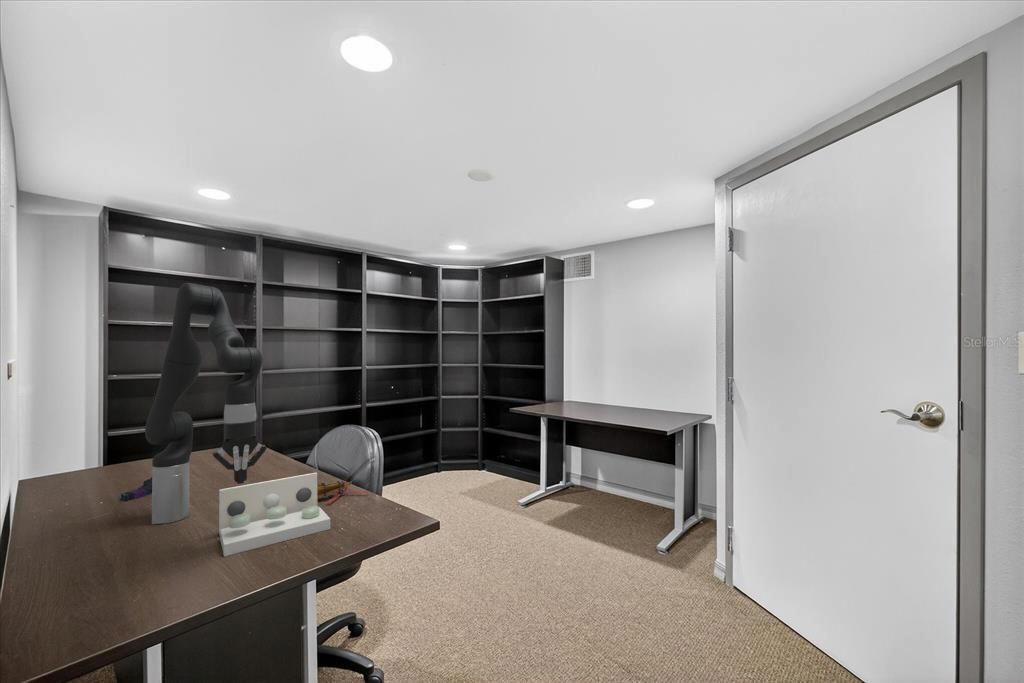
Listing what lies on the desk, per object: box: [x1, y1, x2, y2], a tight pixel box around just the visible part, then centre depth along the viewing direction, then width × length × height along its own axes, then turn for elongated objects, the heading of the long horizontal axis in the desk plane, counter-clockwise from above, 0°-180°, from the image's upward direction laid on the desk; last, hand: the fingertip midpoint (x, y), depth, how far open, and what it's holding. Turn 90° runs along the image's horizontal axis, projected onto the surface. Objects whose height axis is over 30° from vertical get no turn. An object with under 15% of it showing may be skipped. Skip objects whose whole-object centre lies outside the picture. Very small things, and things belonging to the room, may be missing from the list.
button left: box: [229, 514, 250, 528], centre depth 116 cm, size 5×5×2 cm
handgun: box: [120, 476, 152, 502], centre depth 162 cm, size 3×20×15 cm
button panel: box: [219, 506, 331, 557], centre depth 122 cm, size 26×12×3 cm, turn 128°
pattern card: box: [218, 472, 318, 537], centre depth 130 cm, size 26×4×13 cm, turn 128°
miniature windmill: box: [317, 479, 370, 505], centre depth 150 cm, size 15×11×30 cm
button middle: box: [267, 506, 286, 520], centre depth 122 cm, size 5×5×2 cm
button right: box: [302, 505, 320, 519], centre depth 127 cm, size 5×5×2 cm
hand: (240, 483), depth 116 cm, fingers closed
